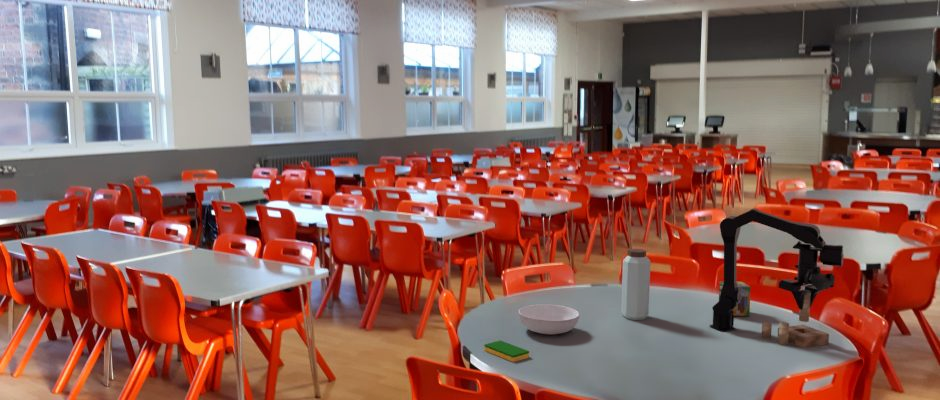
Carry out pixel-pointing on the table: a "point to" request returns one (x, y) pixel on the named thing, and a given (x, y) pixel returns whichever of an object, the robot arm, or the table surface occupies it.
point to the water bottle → (635, 285)
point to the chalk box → (744, 303)
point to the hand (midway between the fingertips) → (804, 308)
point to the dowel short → (766, 330)
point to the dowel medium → (783, 333)
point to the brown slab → (806, 336)
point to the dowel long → (805, 308)
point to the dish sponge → (506, 351)
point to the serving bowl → (548, 318)
